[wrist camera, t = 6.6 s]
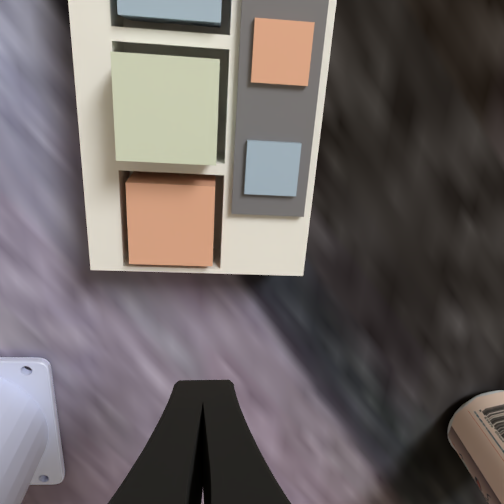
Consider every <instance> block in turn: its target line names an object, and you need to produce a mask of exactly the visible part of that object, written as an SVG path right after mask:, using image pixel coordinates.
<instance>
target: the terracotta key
mask: <svg viewBox="0 0 504 504" xmlns="http://www.w3.org/2000/svg"><path fill="white" fill-rule="evenodd" d="M125 185H126V207H127V229H128V251H129V264H147V265H181V266H213V239H214V210H215V175H207V174H186V173H165V172H144V171H134V172H133V173H132V174H131V176H130V177H129V178H128V180H127V181H126V182H125Z"/></svg>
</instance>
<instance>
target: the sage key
mask: <svg viewBox="0 0 504 504" xmlns="http://www.w3.org/2000/svg"><path fill="white" fill-rule="evenodd" d="M110 57H111V75H112V94H113V113H114V132H115V151H116V161H134V162H154V163H174V164H194V165H215V166H216V158H217V129H218V100H219V71H220V59H211V58H197V57H183V56H169V55H155V54H141V53H126V52H111V51H110Z"/></svg>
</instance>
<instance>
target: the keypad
mask: <svg viewBox="0 0 504 504" xmlns="http://www.w3.org/2000/svg"><path fill="white" fill-rule="evenodd" d="M336 1H337V0H222V5H221V26H220V28H218V27H205V26H192V25H179V24H167V23H154V22H141V21H131V20H129V19H127V18H124V17H122V16H120V15H118V12H117V0H68V6H69V18H70V30H71V42H72V54H73V66H74V78H75V90H76V102H77V114H78V126H79V138H80V150H81V162H82V174H83V186H84V198H85V210H86V222H87V234H88V246H89V258H90V270H106V271H142V272H179V273H215V274H252V275H288V276H303V271H304V263H305V255H306V247H307V239H308V230H309V222H310V214H311V206H312V198H313V190H314V181H315V173H316V165H317V157H318V149H319V140H320V132H321V124H322V116H323V108H324V99H325V91H326V83H327V75H328V67H329V59H330V50H331V42H332V34H333V26H334V18H335V9H336ZM110 51H111V52H126V53H141V54H155V55H169V56H183V57H197V58H211V59H220V71H219V100H218V129H217V158H216V166H215V165H194V164H174V163H154V162H134V161H116V151H115V132H114V113H113V94H112V75H111V57H110ZM134 171H144V172H165V173H186V174H207V175H215V210H214V239H213V266H181V265H147V264H129V251H128V229H127V207H126V185H125V182H126V181H127V180H128V178H129V177H130V176H131V174H132V173H133V172H134Z"/></svg>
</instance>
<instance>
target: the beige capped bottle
mask: <svg viewBox="0 0 504 504" xmlns="http://www.w3.org/2000/svg"><path fill="white" fill-rule="evenodd" d="M447 434H448V440H449V442H450V444H451V446H452V447H453V448H454V449H455V451H456V452H457V453H458V455H459V456H460V458H461V460H462V461H463V463H464V465H465V466H466V468H467V469H468V471H469V473H470V474H471V476H472V478H473V479H474V481H475V483H476V484H477V486H478V488H479V489H480V491H481V492H482V494H483V496H484V497H485V499H486V501H487V502H488V504H504V390H496V391H491V392H486V393H482V394H479V395H477V396H475V397H473V398H472V399H470V400H469V401H467V402H466V403H464V404H463V405H462V406H461V407H460V408H459V409H458V410H457V411H456V412H455V413H454V415H453V417H452V418H451V420H450V422H449V426H448V431H447Z"/></svg>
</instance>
